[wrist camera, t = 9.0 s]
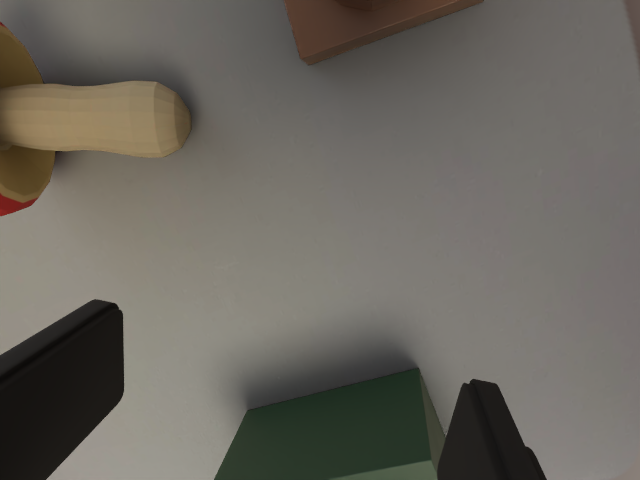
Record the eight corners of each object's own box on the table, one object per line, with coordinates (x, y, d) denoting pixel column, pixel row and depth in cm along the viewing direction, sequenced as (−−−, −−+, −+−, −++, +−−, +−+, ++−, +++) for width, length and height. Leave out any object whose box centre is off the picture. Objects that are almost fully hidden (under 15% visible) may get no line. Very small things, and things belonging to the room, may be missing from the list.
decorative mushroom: (176, -36, 20) (-183, -71, 17) (172, 156, 17) (-271, 154, 14) (200, 101, 30) (-20, 94, 27) (201, 236, 27) (-48, 244, 24)
